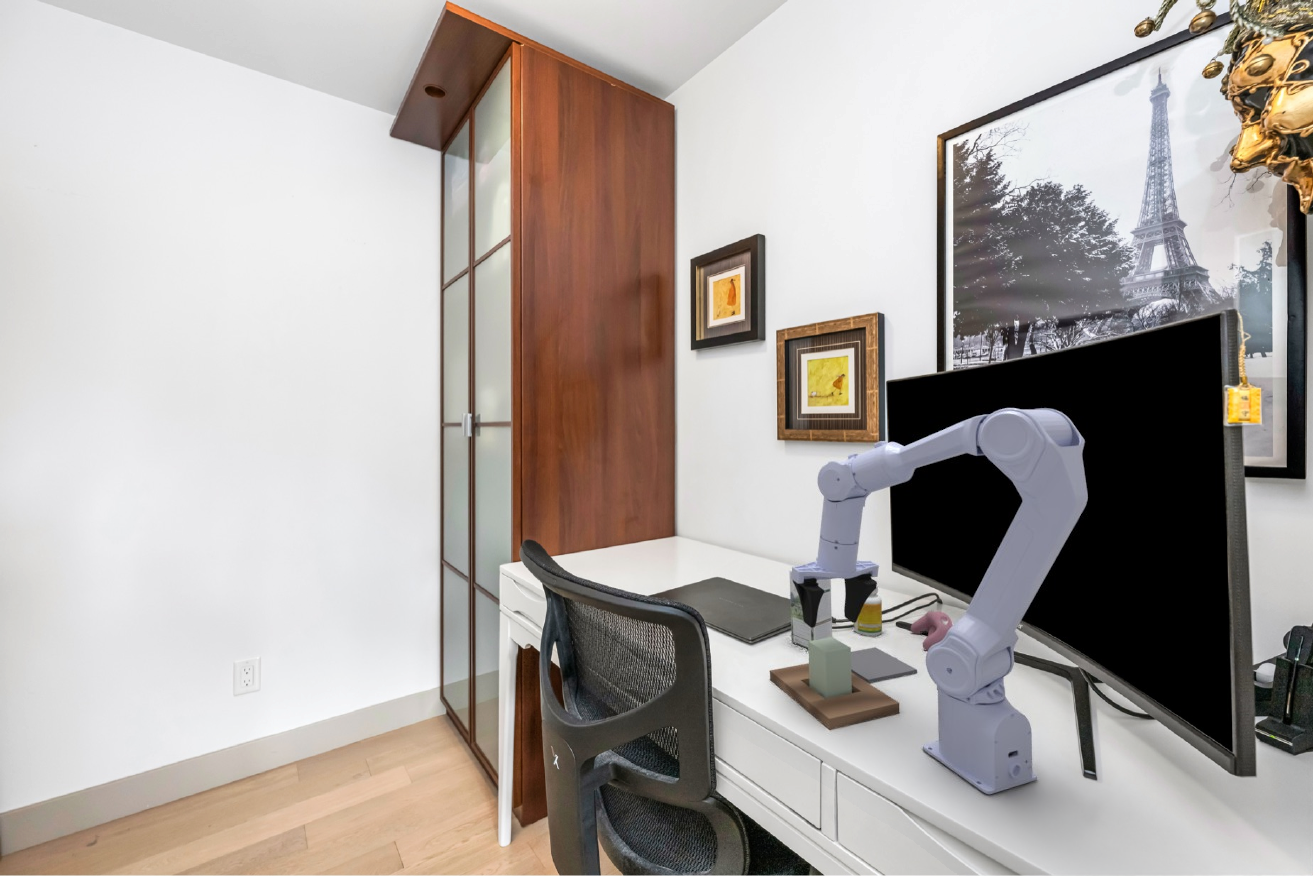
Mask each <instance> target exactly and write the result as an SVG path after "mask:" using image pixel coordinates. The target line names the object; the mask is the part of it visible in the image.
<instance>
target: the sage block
mask: <svg viewBox="0 0 1313 876" xmlns="http://www.w3.org/2000/svg"><path fill="white" fill-rule="evenodd" d="M851 652H852V648H851V647H850V646H848V645H847V644H845V643H844V642H841V641H840V640H838V639H836V638H834V637H833V636H832V637H830V638H825V639H819V640H813V641H808V663H809V687H810V688H811V689H813V690H814V691H815V692H817V693H818V694H819V695H820V696H822V697H823V698H824V699H828V698H833V697H837V696H842V695H847V694H851V693H852V682H851Z"/></svg>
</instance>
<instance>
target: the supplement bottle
mask: <svg viewBox="0 0 1313 876" xmlns="http://www.w3.org/2000/svg"><path fill="white" fill-rule="evenodd" d="M878 587H879V586H878V585H877V587H876V589H875V590H874V591H873V592H872V593H871V594H870V596H869V597H868V599H867V600H866V602H865V603H864V605H863V607H862V609H861V612H860V614H859V616H858V619H857V621H856V622H855V623H853V630H854V632H855V633H857V634H859V635H861V636H866V637H876V636H877V637H878V636H880V635H881V634H882V632H883V614H882V613H883V610H882V609H883V607H882V606H883V602H882V600H883V599H882V598H881V596H880V595H879V594H878V592H879V588H878Z"/></svg>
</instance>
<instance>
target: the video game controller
mask: <svg viewBox="0 0 1313 876" xmlns="http://www.w3.org/2000/svg"><path fill="white" fill-rule="evenodd" d="M953 625H954V624H953V622H952V620H951V617H950V616H949V615H948V614H947V613H945V612H943V611H939V610H934V609H933V608H931V610H930V611H927V612H926V613H924V615H923V616H921V617H920V618H918V619H917V620H915V621H914V622H913V623H912V624H911V626H910V632H911V633H912V634H913V635H921V634H920V631H925V630H929V631H928V634H927V637H926V638H925V639H924V640H923V642H922V648H923V649H924V650H925V651H927V652H928V650H929V648H930V647H931V646H932V645H934V644H936V643H938V642H940V641H942V640H943V639H944V637H945V636H946V634H947V632H948V630H949V629H950V628H951V627H952V626H953Z"/></svg>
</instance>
